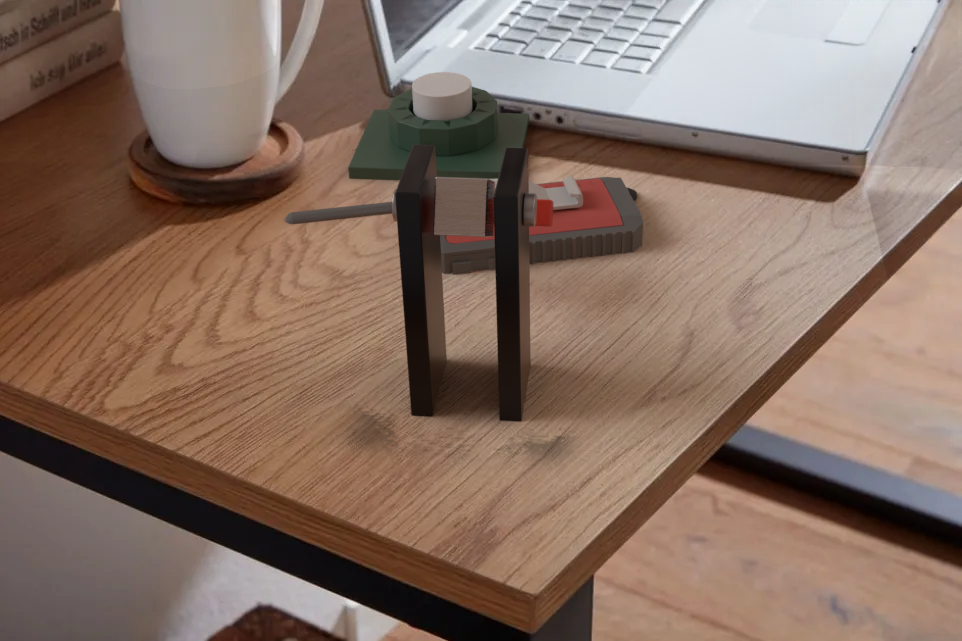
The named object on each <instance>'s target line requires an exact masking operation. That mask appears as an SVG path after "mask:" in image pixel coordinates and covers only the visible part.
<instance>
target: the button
mask: <svg viewBox="0 0 962 641" xmlns="http://www.w3.org/2000/svg"><path fill="white" fill-rule="evenodd" d="M472 87H473V86H472V80H471V79H470V78H469V77H468V76H465V74H462V73H457V72H452V71H439V72H431V73H426V74H423V75H421V76H418V77H417V78H416V79H415V80H413V82H412V84H411V89H412V95H413V111H414V114H415V116H417V117H420V118H423V119H427V120H452V119H457V118H462V117H465V116H466V115H468V114H470V113H471V112H472Z"/></svg>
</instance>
